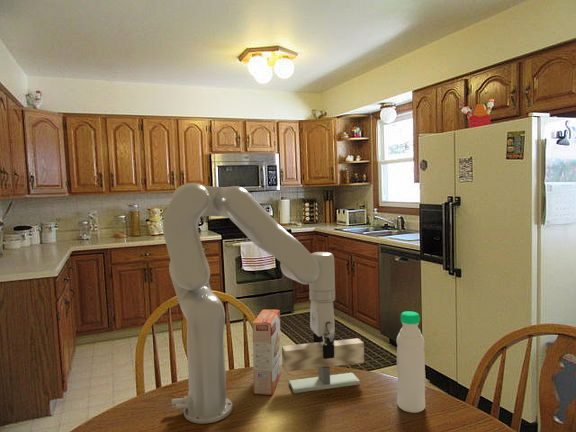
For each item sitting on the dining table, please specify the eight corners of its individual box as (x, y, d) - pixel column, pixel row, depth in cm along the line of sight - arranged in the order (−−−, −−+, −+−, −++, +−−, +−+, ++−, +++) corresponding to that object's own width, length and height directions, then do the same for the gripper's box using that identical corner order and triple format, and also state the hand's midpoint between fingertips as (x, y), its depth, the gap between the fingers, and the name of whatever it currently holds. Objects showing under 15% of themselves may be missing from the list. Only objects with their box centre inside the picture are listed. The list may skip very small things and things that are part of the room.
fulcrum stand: (293, 393, 118) (293, 372, 118) (289, 383, 124) (288, 364, 123) (359, 384, 122) (359, 364, 122) (352, 375, 128) (352, 356, 128)
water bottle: (429, 413, 105) (428, 316, 104) (401, 414, 105) (399, 317, 104) (420, 399, 112) (419, 308, 111) (394, 400, 112) (393, 309, 111)
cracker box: (274, 396, 117) (271, 323, 115) (253, 395, 118) (250, 322, 116) (282, 374, 130) (280, 308, 129) (263, 373, 131) (261, 308, 130)
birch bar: (285, 371, 118) (284, 351, 118) (282, 366, 122) (281, 346, 122) (364, 362, 123) (363, 342, 123) (358, 357, 127) (358, 338, 127)
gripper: (302, 289, 129) (303, 342, 130) (318, 303, 112) (319, 365, 113) (325, 287, 131) (326, 340, 132) (344, 300, 114) (345, 361, 115)
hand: (323, 351), depth 122 cm, fingers open, 9 cm apart
